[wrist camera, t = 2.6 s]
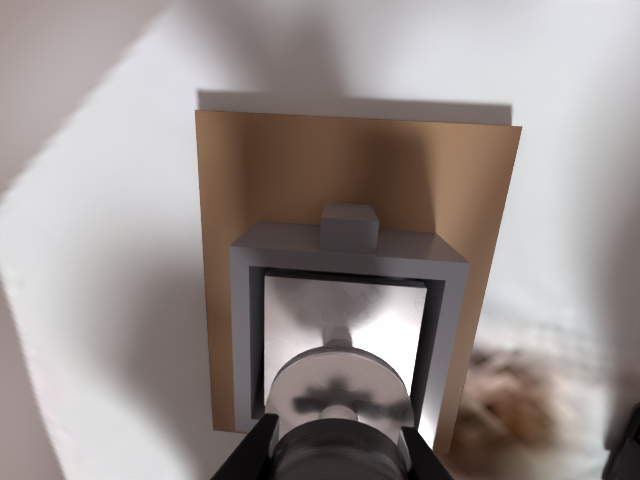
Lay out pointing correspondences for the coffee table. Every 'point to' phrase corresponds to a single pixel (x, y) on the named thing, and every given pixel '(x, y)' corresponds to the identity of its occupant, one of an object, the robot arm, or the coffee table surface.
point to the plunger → (339, 373)
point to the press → (346, 260)
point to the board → (350, 188)
